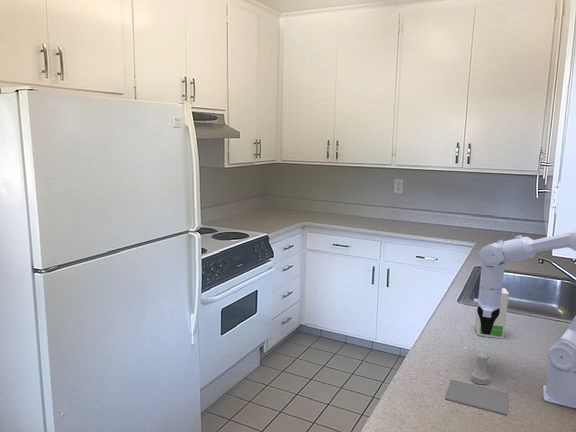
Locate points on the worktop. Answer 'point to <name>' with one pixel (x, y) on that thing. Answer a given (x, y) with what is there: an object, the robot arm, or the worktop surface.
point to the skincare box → (500, 320)
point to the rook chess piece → (481, 369)
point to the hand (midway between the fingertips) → (486, 333)
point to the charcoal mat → (477, 396)
